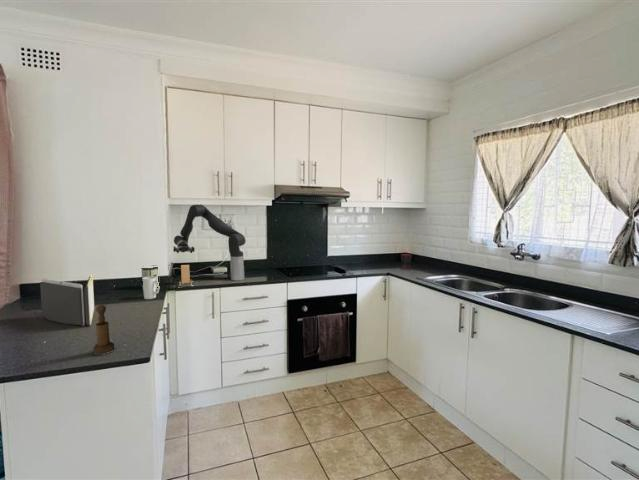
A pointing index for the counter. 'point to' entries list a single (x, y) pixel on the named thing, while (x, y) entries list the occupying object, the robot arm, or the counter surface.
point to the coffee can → (150, 273)
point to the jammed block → (185, 274)
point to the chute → (190, 283)
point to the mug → (150, 287)
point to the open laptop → (67, 301)
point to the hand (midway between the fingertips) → (184, 251)
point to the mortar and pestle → (102, 333)
